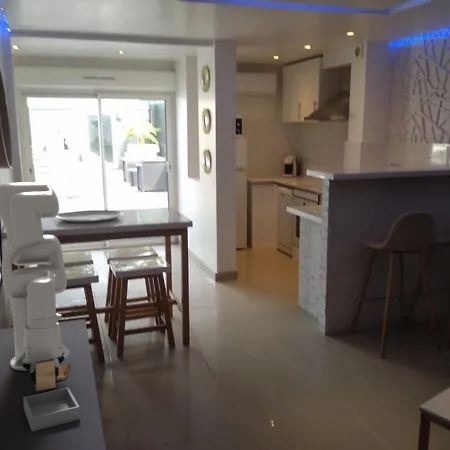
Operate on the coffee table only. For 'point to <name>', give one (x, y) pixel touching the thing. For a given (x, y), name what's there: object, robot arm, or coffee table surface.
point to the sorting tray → (51, 409)
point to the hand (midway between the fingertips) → (44, 380)
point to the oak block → (45, 374)
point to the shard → (63, 371)
